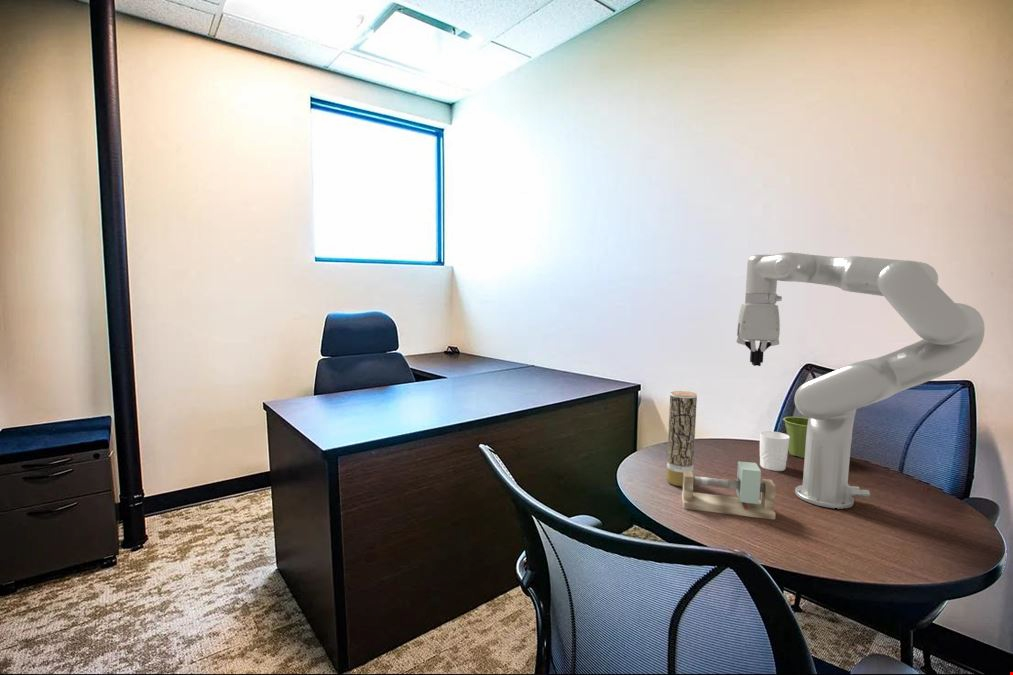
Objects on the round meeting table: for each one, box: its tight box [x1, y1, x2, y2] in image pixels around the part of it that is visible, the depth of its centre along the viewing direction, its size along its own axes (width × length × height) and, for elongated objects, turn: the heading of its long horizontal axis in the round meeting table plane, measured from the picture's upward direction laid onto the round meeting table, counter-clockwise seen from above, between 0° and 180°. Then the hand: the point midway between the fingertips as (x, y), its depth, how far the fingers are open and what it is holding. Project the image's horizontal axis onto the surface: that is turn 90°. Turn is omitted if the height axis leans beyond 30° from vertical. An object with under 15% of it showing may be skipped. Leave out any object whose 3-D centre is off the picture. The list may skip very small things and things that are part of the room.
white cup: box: [759, 430, 790, 472], centre depth 146 cm, size 8×8×10 cm
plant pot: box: [782, 416, 809, 459], centre depth 157 cm, size 12×12×11 cm
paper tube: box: [666, 390, 698, 488], centre depth 133 cm, size 7×7×25 cm
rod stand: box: [681, 471, 776, 520], centre depth 119 cm, size 20×7×8 cm, turn 74°
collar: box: [735, 460, 762, 504], centre depth 117 cm, size 4×6×8 cm
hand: (756, 365), depth 137 cm, fingers closed
